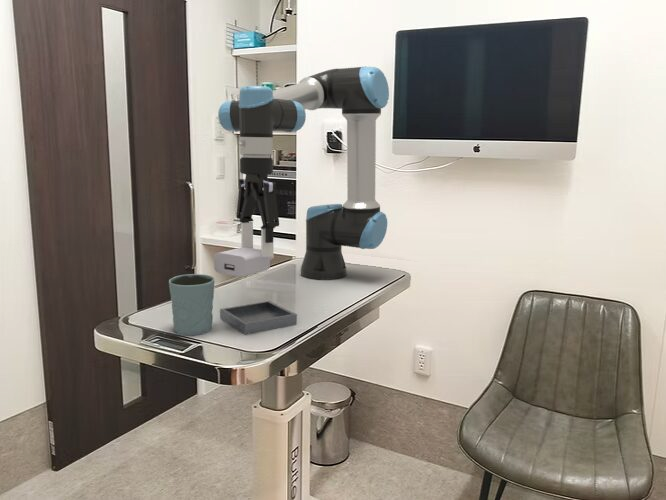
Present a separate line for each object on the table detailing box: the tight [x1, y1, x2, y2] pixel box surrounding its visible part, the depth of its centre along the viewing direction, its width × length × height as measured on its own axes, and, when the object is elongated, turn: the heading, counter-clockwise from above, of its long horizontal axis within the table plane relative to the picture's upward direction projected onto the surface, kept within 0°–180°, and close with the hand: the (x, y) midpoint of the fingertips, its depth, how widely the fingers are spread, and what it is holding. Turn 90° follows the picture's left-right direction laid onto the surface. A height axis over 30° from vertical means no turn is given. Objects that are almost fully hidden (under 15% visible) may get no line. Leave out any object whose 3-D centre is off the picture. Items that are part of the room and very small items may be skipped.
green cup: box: [168, 273, 215, 336], centre depth 127 cm, size 10×10×12 cm
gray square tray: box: [219, 300, 298, 336], centre depth 134 cm, size 14×14×2 cm
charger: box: [213, 246, 275, 278], centre depth 130 cm, size 5×9×15 cm
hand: (257, 252), depth 131 cm, fingers closed on charger, 9 cm apart
